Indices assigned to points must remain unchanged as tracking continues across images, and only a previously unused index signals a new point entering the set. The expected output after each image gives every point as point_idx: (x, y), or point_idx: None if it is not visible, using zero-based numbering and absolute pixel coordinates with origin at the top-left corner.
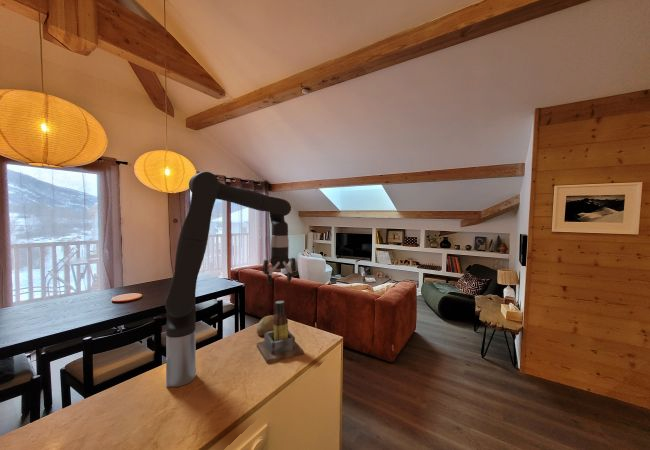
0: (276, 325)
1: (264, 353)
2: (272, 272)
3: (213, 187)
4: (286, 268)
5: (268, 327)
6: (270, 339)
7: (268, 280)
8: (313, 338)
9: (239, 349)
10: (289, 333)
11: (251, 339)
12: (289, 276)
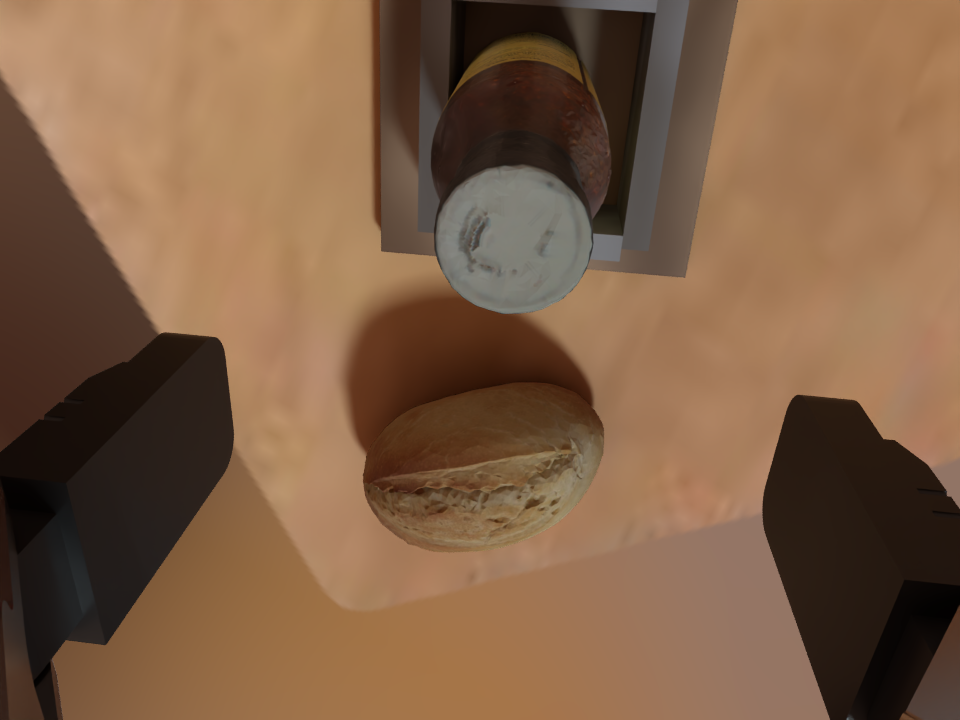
0: (597, 109)
1: (714, 57)
2: (936, 686)
3: None
4: (18, 702)
5: (524, 403)
6: (661, 86)
7: (935, 489)
8: (195, 127)
9: (817, 292)
10: (433, 109)
11: (664, 391)
12: (109, 413)
